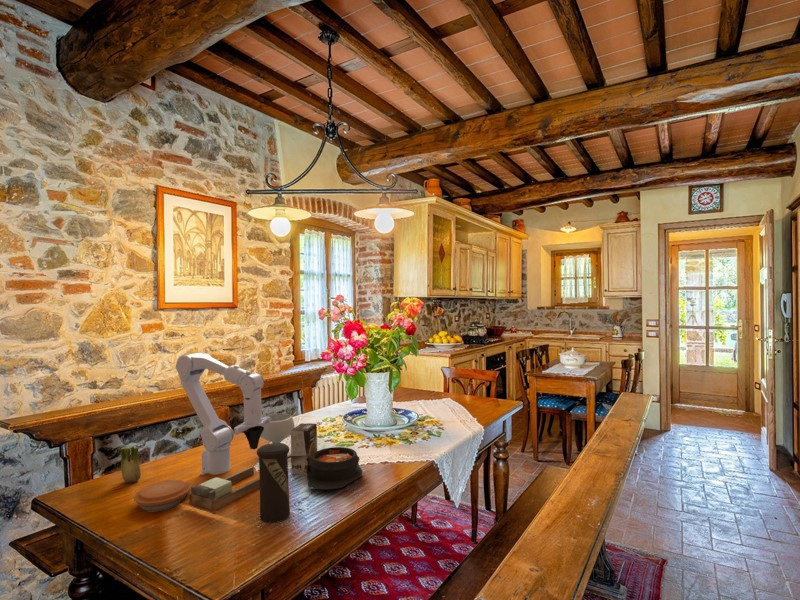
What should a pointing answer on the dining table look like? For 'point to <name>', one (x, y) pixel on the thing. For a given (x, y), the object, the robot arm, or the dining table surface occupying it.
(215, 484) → the pale green block
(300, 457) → the coffee box
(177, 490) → the pie
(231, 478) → the bay
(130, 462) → the fennel bulb
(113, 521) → the dining table surface
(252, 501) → the dining table surface
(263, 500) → the container
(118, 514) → the dining table surface
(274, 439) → the chalice
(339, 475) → the casserole
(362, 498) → the dining table surface
